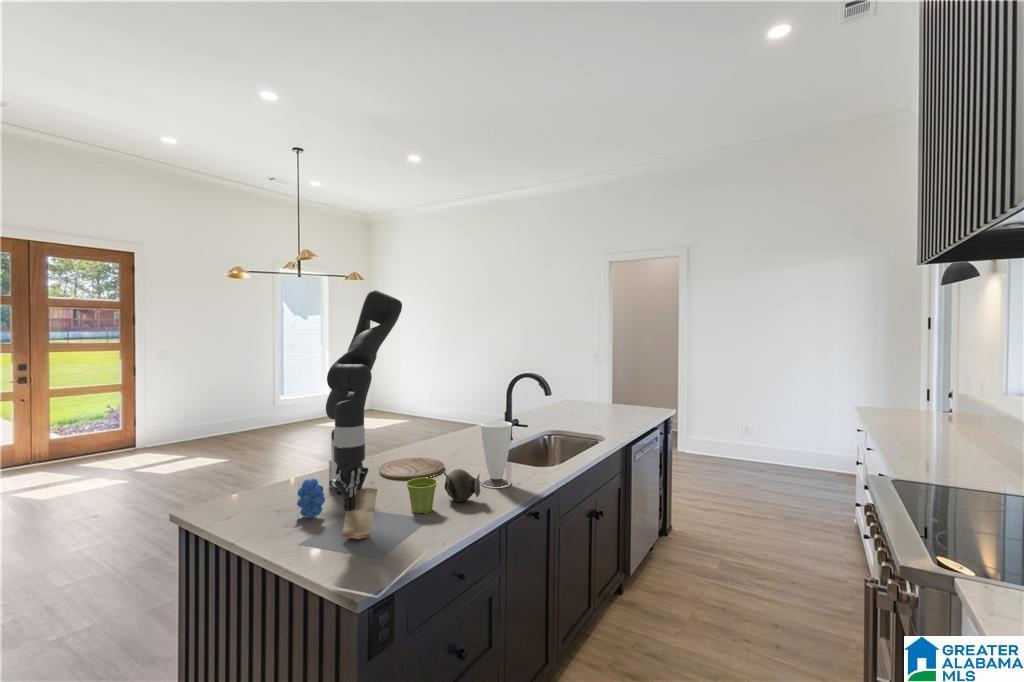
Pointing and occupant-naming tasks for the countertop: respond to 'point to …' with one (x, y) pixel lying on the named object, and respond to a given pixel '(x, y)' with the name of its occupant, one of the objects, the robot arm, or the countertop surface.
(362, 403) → the robot arm
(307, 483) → the grapes
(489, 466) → the cup
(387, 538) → the rubber mat
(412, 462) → the trivet
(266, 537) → the countertop surface
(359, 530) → the maple block
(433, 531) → the countertop surface
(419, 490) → the plant pot
